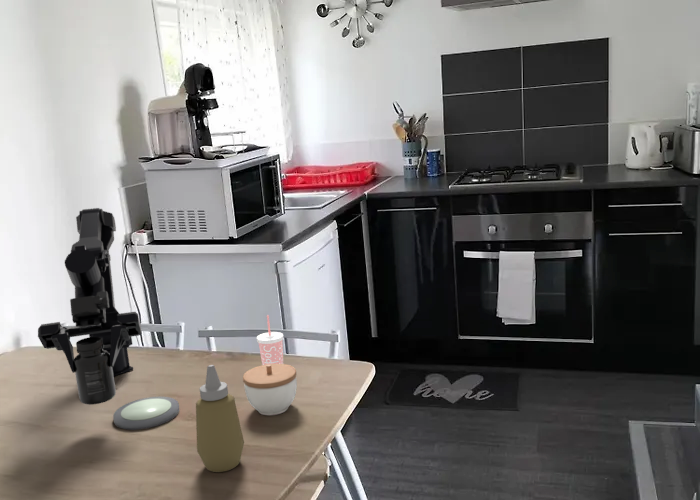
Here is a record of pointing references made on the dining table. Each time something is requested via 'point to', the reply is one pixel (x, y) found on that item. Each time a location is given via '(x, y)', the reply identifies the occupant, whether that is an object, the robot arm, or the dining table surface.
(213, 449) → the squeeze bottle
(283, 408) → the lidded jar
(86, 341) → the supplement bottle
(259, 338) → the beverage cup
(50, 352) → the dining table surface
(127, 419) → the plate
